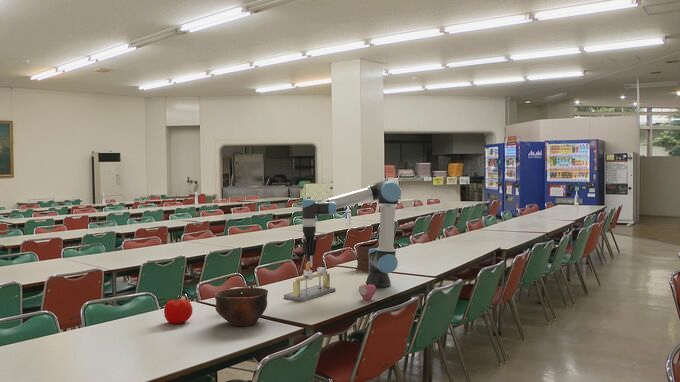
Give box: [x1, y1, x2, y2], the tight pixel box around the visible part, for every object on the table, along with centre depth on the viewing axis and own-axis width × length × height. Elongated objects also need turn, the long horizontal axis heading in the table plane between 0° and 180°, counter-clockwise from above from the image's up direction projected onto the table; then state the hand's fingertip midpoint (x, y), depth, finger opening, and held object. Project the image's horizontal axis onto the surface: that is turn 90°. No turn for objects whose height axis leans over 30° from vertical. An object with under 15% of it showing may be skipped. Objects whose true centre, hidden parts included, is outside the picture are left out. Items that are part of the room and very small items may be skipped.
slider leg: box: [303, 262, 313, 292], centre depth 312 cm, size 4×3×16 cm
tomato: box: [163, 297, 194, 325], centre depth 263 cm, size 12×13×12 cm
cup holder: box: [346, 234, 379, 273], centre depth 392 cm, size 18×24×25 cm
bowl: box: [213, 287, 269, 327], centre depth 260 cm, size 25×25×15 cm
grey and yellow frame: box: [283, 266, 337, 302], centre depth 316 cm, size 14×30×14 cm, turn 144°
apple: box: [358, 280, 377, 301], centre depth 301 cm, size 10×9×10 cm
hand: (309, 266), depth 314 cm, fingers closed
